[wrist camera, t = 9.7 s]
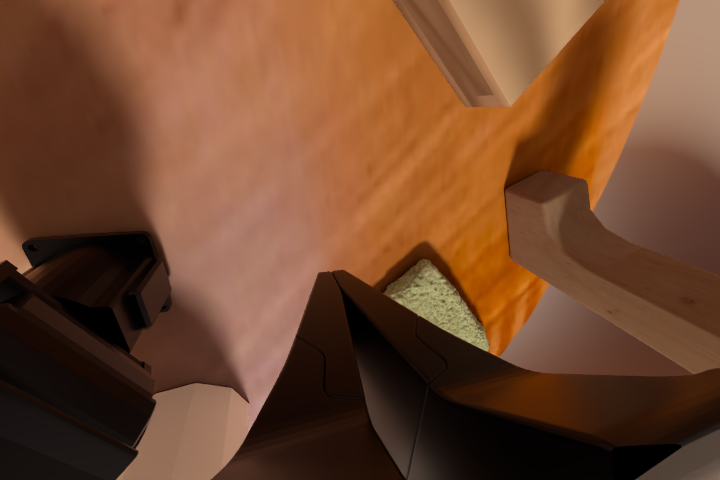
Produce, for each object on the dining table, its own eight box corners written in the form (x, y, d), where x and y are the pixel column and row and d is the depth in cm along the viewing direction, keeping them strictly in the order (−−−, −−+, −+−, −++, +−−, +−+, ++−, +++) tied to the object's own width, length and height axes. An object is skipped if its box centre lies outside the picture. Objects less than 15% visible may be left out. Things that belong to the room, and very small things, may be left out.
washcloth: (406, 392, 36) (418, 415, 33) (323, 325, 27) (329, 350, 24) (485, 331, 36) (504, 350, 33) (427, 243, 27) (446, 259, 24)
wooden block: (502, 188, 26) (853, 308, 10) (542, 168, 26) (937, 256, 11) (508, 259, 30) (759, 418, 15) (542, 242, 31) (821, 378, 15)
